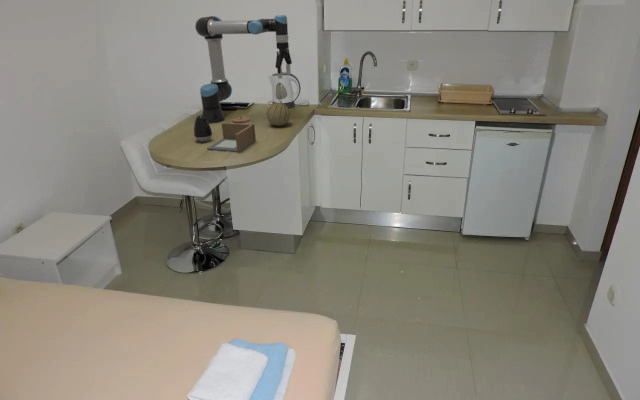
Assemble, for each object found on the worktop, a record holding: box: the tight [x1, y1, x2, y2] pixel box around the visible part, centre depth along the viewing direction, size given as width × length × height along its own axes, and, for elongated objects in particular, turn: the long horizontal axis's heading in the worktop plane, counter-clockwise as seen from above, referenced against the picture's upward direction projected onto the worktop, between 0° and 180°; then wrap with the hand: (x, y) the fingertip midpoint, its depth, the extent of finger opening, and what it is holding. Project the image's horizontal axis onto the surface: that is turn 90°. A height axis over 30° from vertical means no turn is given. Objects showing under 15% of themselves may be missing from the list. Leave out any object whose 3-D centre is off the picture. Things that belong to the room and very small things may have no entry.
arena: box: [206, 122, 257, 153], centre depth 251 cm, size 20×20×10 cm
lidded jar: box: [232, 115, 251, 124], centre depth 276 cm, size 11×11×9 cm
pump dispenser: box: [193, 114, 213, 143], centre depth 260 cm, size 10×10×15 cm
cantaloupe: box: [266, 101, 291, 127], centre depth 283 cm, size 15×15×15 cm
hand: (284, 76), depth 289 cm, fingers open, 13 cm apart
